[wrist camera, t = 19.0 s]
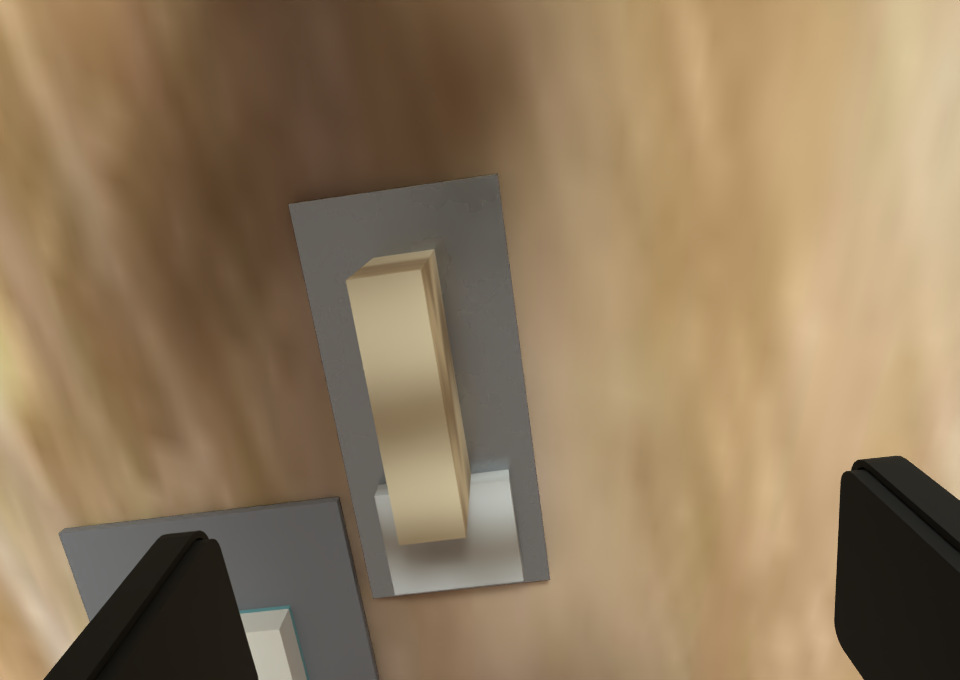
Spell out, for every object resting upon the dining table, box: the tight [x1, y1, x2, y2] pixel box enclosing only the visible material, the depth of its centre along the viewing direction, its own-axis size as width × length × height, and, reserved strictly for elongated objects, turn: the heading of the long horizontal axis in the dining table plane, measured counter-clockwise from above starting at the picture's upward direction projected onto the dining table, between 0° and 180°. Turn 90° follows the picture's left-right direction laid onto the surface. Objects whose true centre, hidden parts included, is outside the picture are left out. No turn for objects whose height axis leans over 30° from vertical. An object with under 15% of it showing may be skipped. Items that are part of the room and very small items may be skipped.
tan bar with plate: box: [346, 249, 524, 595], centre depth 31 cm, size 18×7×6 cm, turn 8°
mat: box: [59, 497, 379, 680], centre depth 39 cm, size 18×16×1 cm
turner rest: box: [288, 174, 550, 598], centre depth 34 cm, size 22×10×1 cm, turn 8°
